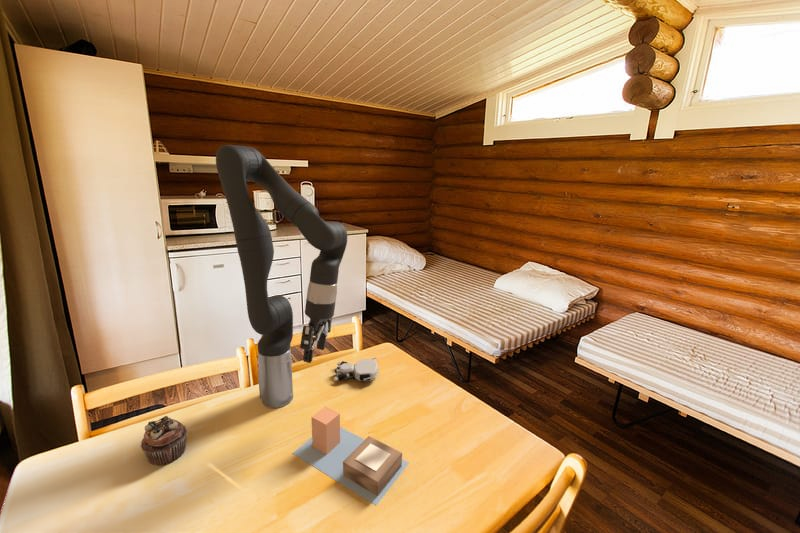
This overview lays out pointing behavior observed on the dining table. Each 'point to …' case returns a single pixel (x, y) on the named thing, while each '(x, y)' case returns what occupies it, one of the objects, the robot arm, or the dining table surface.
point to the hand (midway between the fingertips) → (314, 355)
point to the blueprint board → (334, 463)
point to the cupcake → (164, 441)
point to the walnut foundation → (372, 465)
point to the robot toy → (357, 370)
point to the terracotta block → (325, 430)
